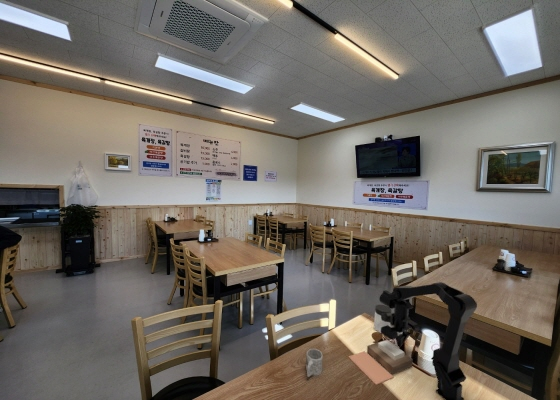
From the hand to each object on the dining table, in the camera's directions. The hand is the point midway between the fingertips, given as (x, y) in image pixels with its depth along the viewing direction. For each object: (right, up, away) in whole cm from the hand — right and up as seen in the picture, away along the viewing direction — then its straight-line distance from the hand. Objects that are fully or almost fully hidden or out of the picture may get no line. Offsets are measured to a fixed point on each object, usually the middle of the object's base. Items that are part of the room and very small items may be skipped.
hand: (399, 346), depth 105 cm
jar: (+1, -4, +20) cm, 21 cm away
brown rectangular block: (-6, -4, -2) cm, 8 cm away
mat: (-17, -4, -7) cm, 18 cm away
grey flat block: (-5, -1, -2) cm, 6 cm away
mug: (-42, -4, -11) cm, 43 cm away
